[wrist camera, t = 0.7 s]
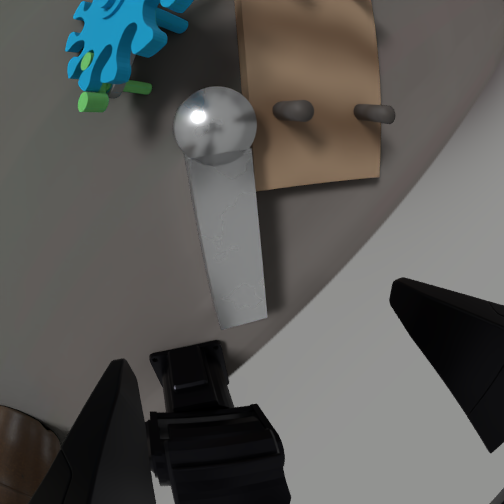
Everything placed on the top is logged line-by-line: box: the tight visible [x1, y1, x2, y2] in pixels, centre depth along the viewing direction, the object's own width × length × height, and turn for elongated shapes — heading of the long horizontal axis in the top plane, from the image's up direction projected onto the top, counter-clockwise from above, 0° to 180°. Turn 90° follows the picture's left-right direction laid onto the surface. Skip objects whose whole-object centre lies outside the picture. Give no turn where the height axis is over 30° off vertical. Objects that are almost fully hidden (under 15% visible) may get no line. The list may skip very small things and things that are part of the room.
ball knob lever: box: [173, 86, 267, 330], centre depth 18 cm, size 16×4×3 cm, turn 6°
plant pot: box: [0, 406, 60, 504], centre depth 16 cm, size 16×16×16 cm
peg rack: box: [234, 0, 395, 191], centre depth 14 cm, size 20×10×4 cm, turn 5°
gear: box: [65, 0, 194, 112], centre depth 10 cm, size 11×6×10 cm
